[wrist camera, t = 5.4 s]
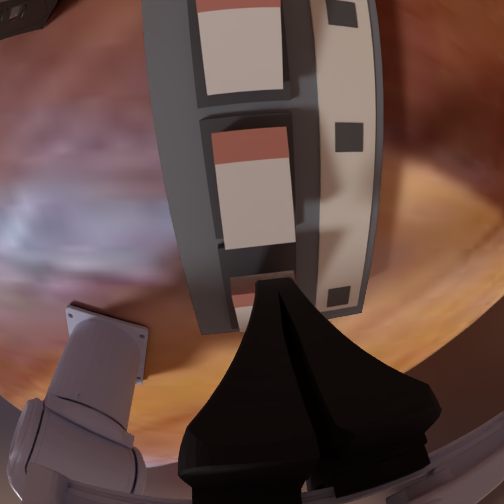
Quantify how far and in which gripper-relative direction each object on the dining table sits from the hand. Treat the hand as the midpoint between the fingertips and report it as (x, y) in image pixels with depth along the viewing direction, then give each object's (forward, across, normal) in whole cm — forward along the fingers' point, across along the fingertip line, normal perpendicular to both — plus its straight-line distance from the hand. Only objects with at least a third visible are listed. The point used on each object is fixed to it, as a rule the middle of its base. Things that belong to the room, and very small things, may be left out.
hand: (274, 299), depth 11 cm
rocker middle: (+4, 0, -3) cm, 5 cm away
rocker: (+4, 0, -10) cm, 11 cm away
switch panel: (+9, -1, -3) cm, 10 cm away
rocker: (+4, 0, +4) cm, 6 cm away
